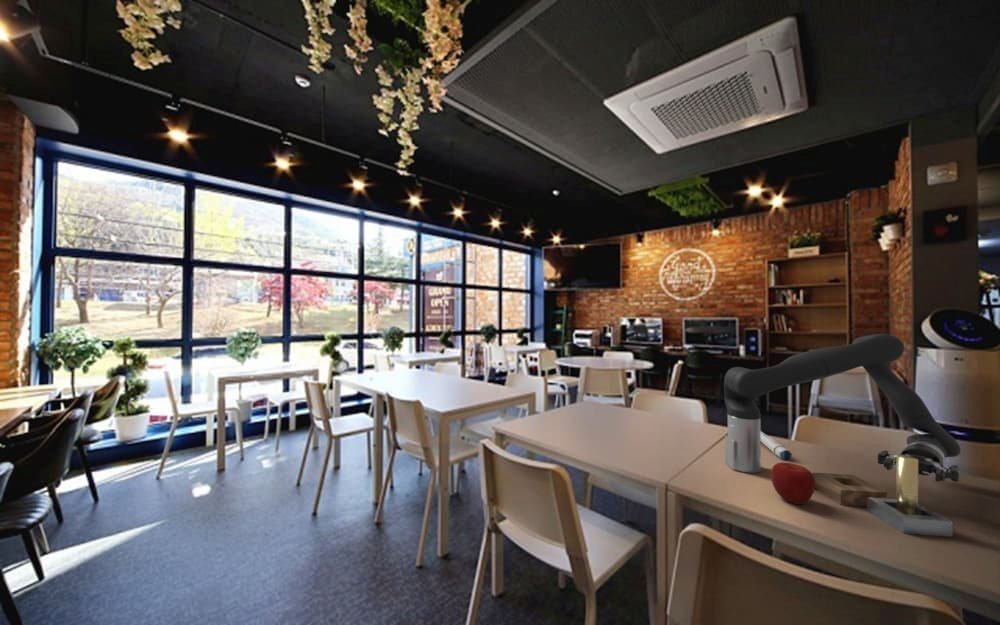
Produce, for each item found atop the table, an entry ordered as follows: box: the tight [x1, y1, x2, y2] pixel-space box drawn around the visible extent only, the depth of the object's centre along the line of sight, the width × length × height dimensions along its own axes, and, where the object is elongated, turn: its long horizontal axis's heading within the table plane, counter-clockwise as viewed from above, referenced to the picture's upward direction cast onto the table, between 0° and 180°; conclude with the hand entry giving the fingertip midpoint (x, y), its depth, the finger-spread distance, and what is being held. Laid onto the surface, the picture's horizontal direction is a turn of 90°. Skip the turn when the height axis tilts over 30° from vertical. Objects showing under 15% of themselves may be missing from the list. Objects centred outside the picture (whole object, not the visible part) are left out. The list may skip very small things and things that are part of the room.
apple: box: [770, 462, 816, 505], centre depth 102 cm, size 10×10×10 cm
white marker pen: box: [760, 430, 793, 461], centre depth 143 cm, size 5×7×25 cm
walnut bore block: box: [811, 471, 888, 507], centre depth 105 cm, size 11×11×4 cm
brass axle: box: [895, 454, 919, 515], centre depth 91 cm, size 4×4×16 cm
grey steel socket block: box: [866, 497, 954, 538], centre depth 91 cm, size 10×10×4 cm
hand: (912, 471), depth 95 cm, fingers open, 8 cm apart
